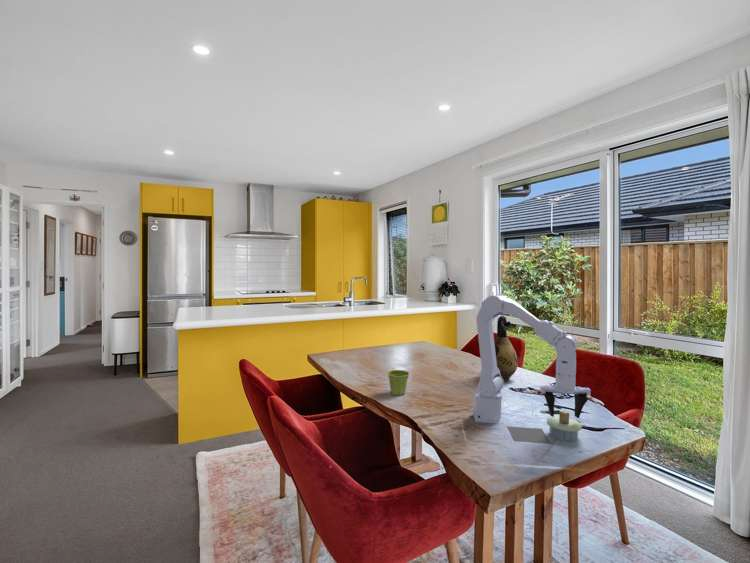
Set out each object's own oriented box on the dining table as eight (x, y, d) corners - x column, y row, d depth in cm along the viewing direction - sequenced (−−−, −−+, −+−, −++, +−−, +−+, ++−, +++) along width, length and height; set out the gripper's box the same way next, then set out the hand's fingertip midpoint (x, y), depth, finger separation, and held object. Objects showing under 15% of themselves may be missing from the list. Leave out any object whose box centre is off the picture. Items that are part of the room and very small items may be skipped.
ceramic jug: (521, 383, 186) (523, 319, 185) (488, 383, 186) (490, 318, 185) (510, 373, 203) (512, 314, 202) (479, 373, 203) (481, 313, 202)
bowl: (554, 441, 125) (554, 429, 125) (546, 431, 133) (546, 419, 133) (581, 443, 124) (582, 430, 124) (572, 432, 132) (572, 420, 132)
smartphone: (567, 428, 136) (568, 425, 136) (539, 412, 151) (540, 409, 151) (586, 427, 138) (586, 424, 138) (556, 411, 153) (556, 408, 153)
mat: (514, 442, 124) (514, 440, 124) (507, 428, 135) (507, 426, 135) (551, 445, 123) (551, 443, 123) (541, 430, 134) (541, 428, 133)
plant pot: (407, 397, 164) (408, 376, 164) (385, 395, 166) (385, 375, 166) (410, 390, 174) (410, 370, 173) (388, 389, 175) (389, 369, 175)
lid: (552, 430, 124) (553, 417, 124) (542, 418, 134) (543, 406, 133) (586, 432, 123) (587, 419, 122) (574, 419, 132) (575, 407, 132)
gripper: (545, 376, 124) (544, 419, 125) (595, 378, 123) (593, 422, 123) (539, 370, 131) (537, 411, 132) (586, 372, 130) (584, 414, 130)
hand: (564, 416), depth 128 cm, fingers open, 7 cm apart
